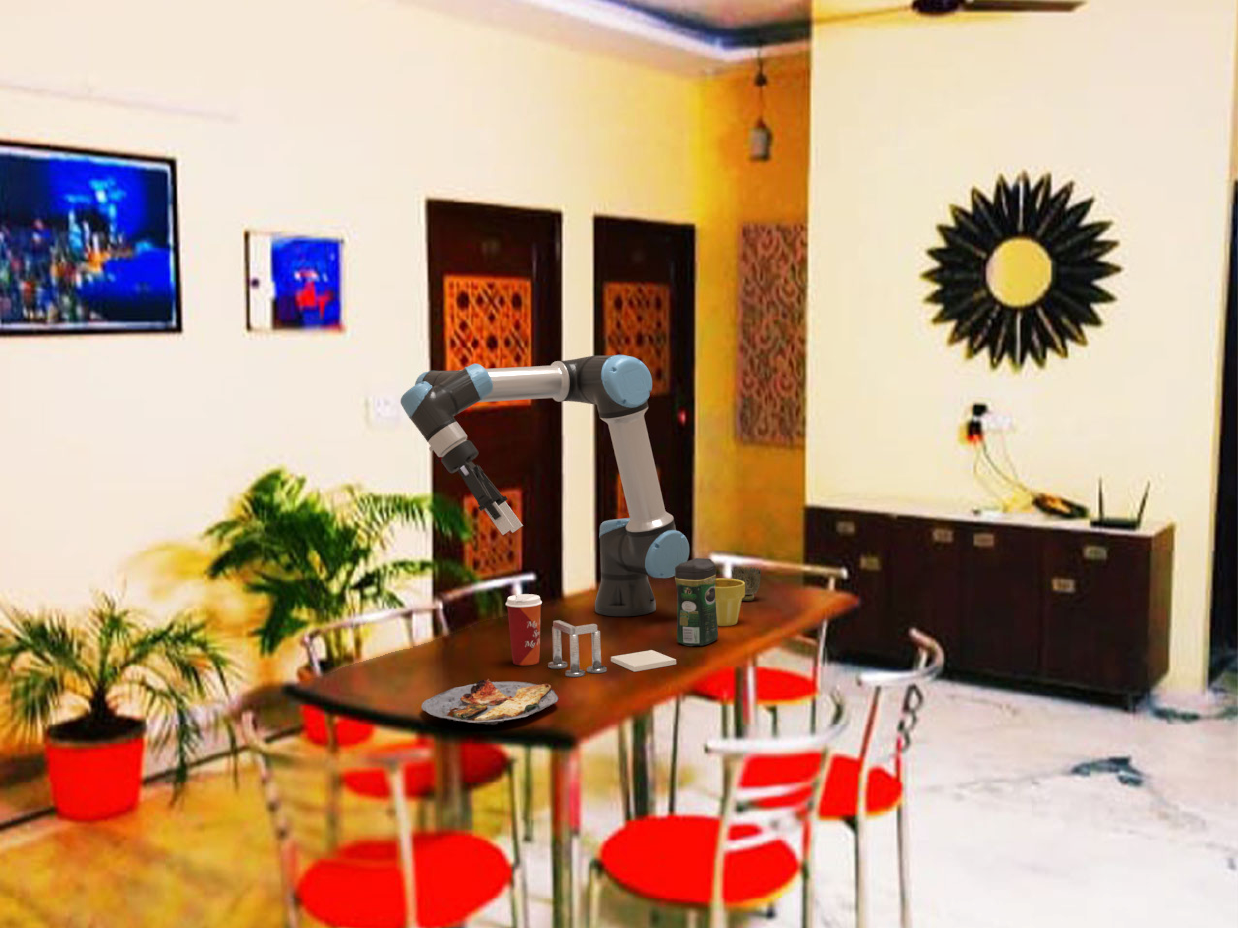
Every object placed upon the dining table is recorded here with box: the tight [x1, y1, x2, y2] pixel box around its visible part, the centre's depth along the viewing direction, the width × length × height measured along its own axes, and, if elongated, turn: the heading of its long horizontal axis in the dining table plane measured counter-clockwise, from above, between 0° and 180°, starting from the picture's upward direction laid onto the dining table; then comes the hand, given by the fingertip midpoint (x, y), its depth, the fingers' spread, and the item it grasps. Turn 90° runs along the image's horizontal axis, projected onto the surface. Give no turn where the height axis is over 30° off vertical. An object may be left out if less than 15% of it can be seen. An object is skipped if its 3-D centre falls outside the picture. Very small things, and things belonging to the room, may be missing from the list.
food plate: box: [421, 678, 559, 726], centre depth 241 cm, size 25×23×4 cm
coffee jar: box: [674, 557, 719, 647], centre depth 288 cm, size 10×8×19 cm
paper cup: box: [505, 593, 543, 667], centre depth 275 cm, size 8×8×14 cm
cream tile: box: [610, 649, 677, 672], centre depth 272 cm, size 10×10×1 cm
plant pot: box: [715, 578, 745, 627], centre depth 306 cm, size 10×10×10 cm
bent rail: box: [547, 619, 607, 678], centre depth 268 cm, size 12×9×10 cm
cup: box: [731, 566, 762, 602], centre depth 331 cm, size 8×7×8 cm
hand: (513, 530), depth 273 cm, fingers open, 13 cm apart
